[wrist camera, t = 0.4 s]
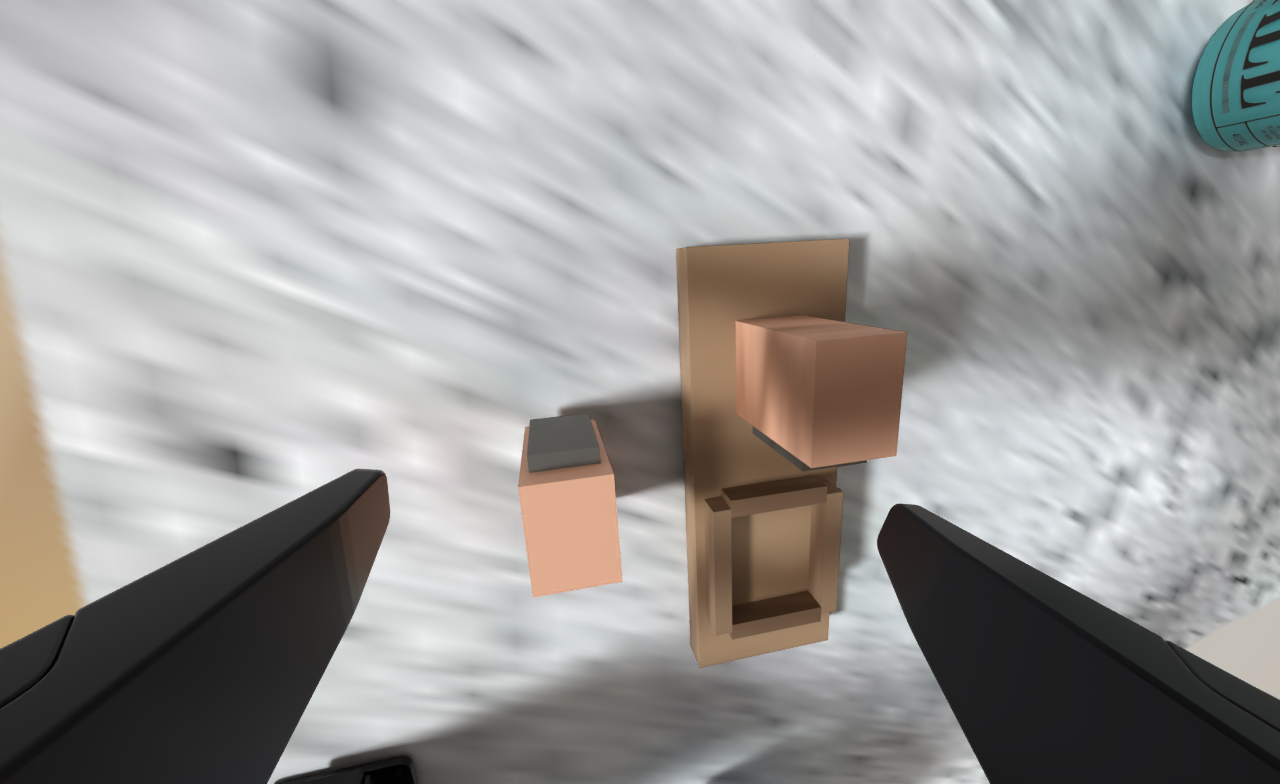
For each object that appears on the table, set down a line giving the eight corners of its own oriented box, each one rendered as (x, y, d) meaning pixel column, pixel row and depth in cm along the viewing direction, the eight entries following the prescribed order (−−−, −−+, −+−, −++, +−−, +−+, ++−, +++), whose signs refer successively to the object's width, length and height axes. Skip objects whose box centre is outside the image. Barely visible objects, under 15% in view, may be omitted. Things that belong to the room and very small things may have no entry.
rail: (812, 619, 26) (913, 751, 19) (690, 645, 25) (750, 795, 18) (828, 240, 21) (976, 224, 14) (676, 249, 20) (751, 235, 13)
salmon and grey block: (601, 501, 22) (622, 581, 16) (536, 510, 21) (533, 597, 16) (593, 405, 21) (612, 456, 15) (523, 413, 20) (515, 469, 14)
